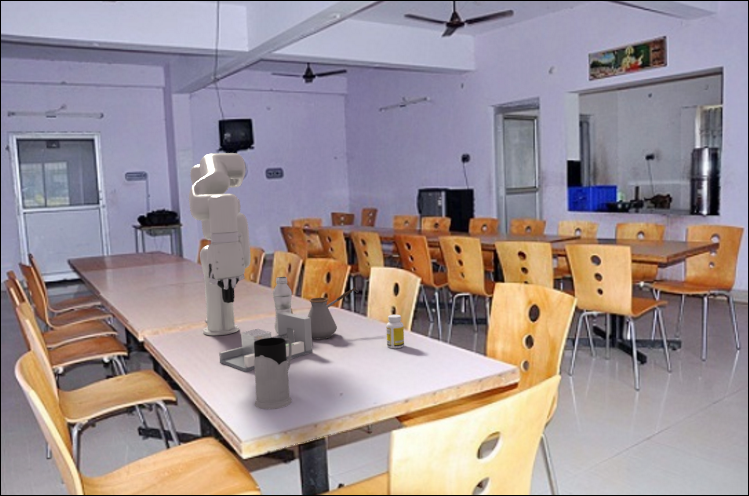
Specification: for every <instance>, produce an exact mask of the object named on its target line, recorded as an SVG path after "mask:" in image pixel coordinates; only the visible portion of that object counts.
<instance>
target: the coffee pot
mask: <svg viewBox="0 0 749 496" xmlns="http://www.w3.org/2000/svg"><path fill="white" fill-rule="evenodd" d="M353 292H356V293H359V289H358V288H357V287H353V288H351V289H349V290H348V291H345V292H344V293H343V294H341V295H339V296H338V297H337V298H336V299H335V300H333V301H331V302H329V303H328V301H329V298H328V297H313V298H310V299H309V303H310V304H311V306H310V309H309V312H308V315H307V317H310V318H311V333H312V340H324V339H328V338H331V337H332V336H333V335H334V334H335V333H336V332H337V329H338V326H337V324H336V321H335V320H334V317H333V315H332V313H331V311H330V309H329V308H330V307H331V306H333V305H334V304H335V303H337V302H339V301H341V300H342V299H344V298H346V297H348V295H350V293H351V294H352V293H353Z"/></svg>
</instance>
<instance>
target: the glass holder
mask: <svg viewBox="0 0 749 496" xmlns="http://www.w3.org/2000/svg"><path fill="white" fill-rule="evenodd" d="M286 340H288V343H289V357H288V360H287V358H286ZM254 354H255V359H254V367H255V369H254V378H255V379H254V380H255V383H254V384H255V394H256V396H255V401H254V406H255V407H256V408H258V409H260V410H261V409H262V410H276V409H280V408H284V407H286V406H289V405H290V404H291V403H292V401H293V400H292V398H291V397H290V396H291V395H290V383H289V382H290V381H289V369H290V367H291V361H292V359H291V355H292V345H291V341H290V339H288V338H285V339H283V338H264V339H260V340H257V341H255V342H254Z"/></svg>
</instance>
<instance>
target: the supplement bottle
mask: <svg viewBox="0 0 749 496" xmlns="http://www.w3.org/2000/svg"><path fill="white" fill-rule="evenodd" d="M387 318H388V322H387V323H386V325H385V326H386V329H385V331H386V345H387V348H389V349H401V348H403V347H404V346H405V330H404V327H405V326H404V323H403V322H402V316H401V315H400V314H390V315H388V316H387Z"/></svg>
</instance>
